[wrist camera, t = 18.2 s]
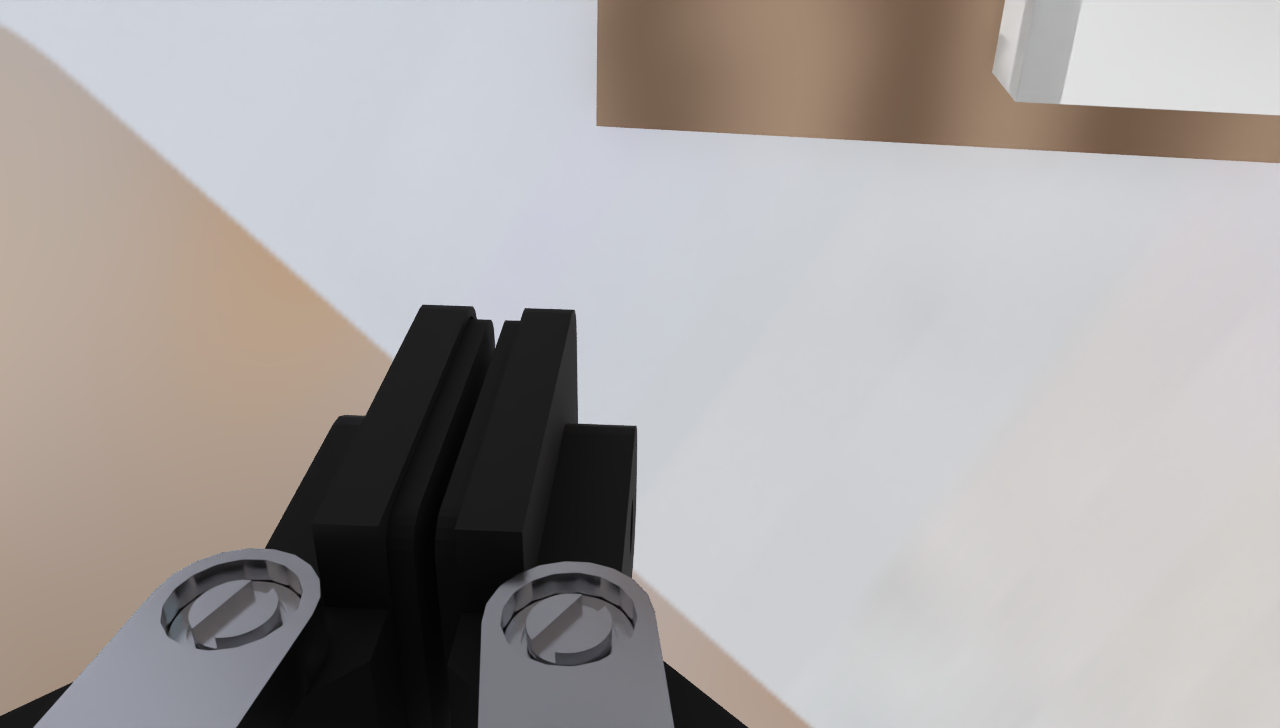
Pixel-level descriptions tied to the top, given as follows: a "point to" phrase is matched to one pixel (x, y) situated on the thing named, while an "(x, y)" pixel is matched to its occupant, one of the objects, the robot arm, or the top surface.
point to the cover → (1143, 54)
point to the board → (869, 80)
